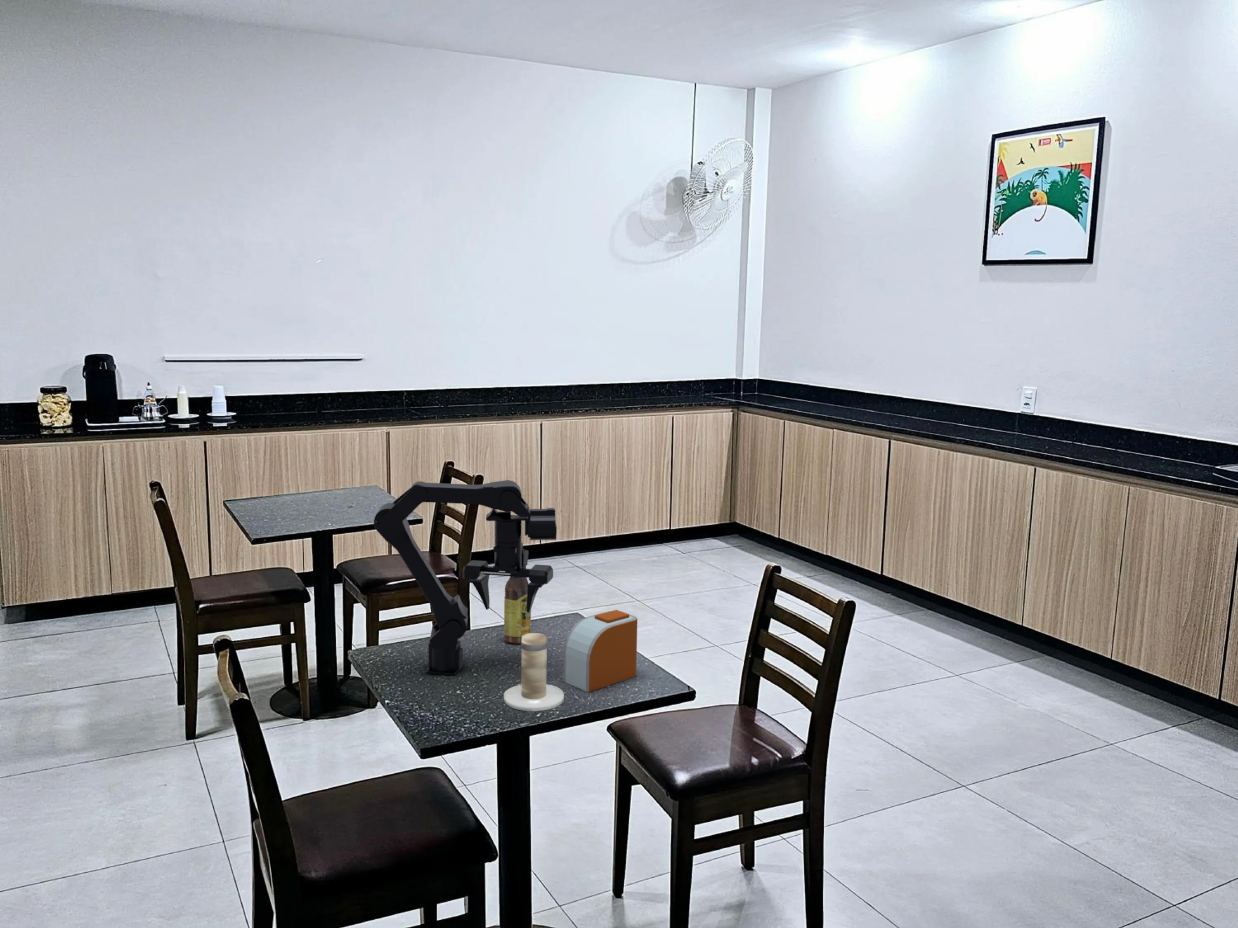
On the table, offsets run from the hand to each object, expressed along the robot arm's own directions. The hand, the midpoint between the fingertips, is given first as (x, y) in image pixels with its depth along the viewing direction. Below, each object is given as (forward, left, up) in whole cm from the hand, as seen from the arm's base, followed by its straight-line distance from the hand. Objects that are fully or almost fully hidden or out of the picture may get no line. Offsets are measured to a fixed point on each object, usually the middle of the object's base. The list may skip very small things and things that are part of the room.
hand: (508, 610), depth 216 cm
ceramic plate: (+10, -16, -13) cm, 23 cm away
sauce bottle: (-3, +18, -13) cm, 23 cm away
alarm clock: (+21, -1, -13) cm, 25 cm away
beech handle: (+10, -16, -12) cm, 22 cm away
